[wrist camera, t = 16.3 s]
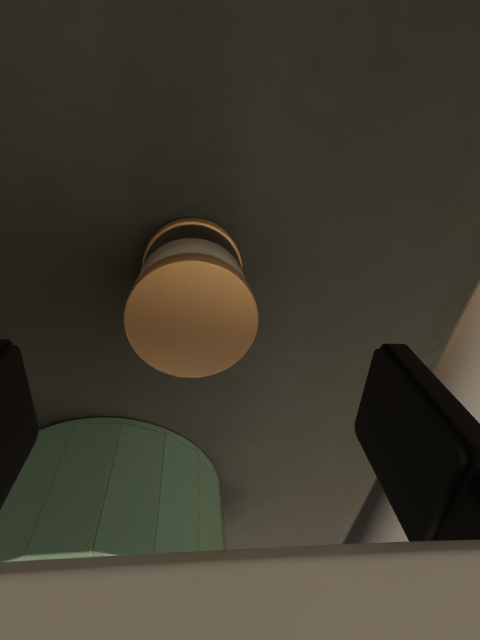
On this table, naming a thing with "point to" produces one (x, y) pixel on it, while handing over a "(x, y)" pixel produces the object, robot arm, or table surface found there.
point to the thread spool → (191, 301)
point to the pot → (111, 494)
